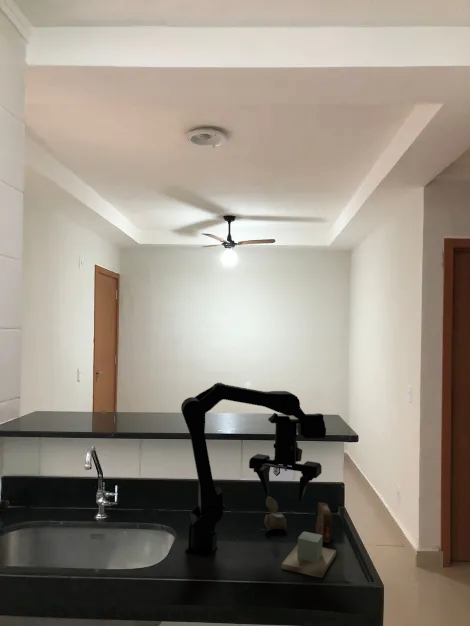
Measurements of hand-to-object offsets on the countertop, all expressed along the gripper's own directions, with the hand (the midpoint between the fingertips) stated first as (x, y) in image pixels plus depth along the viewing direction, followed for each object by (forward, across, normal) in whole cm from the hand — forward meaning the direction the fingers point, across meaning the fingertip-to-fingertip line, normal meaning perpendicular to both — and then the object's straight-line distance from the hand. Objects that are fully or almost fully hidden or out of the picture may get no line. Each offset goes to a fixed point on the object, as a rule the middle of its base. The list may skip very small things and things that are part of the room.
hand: (283, 497), depth 143 cm
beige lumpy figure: (+13, +6, -11) cm, 18 cm away
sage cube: (+12, -9, +5) cm, 16 cm away
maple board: (+13, -9, +5) cm, 17 cm away
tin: (+13, -8, -12) cm, 20 cm away
